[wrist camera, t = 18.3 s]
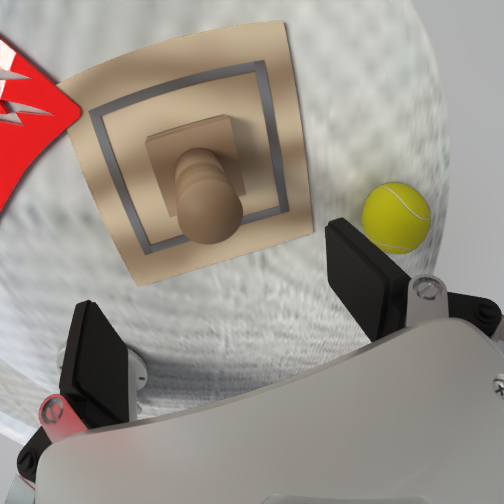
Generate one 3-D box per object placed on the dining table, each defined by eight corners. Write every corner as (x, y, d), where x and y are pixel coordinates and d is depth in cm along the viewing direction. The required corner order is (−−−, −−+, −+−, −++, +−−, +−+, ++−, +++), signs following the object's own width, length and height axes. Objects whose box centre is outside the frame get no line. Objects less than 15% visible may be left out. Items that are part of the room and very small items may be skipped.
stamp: (239, 183, 24) (278, 247, 16) (169, 204, 24) (172, 280, 16) (223, 114, 21) (259, 141, 13) (147, 136, 20) (130, 179, 12)
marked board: (311, 231, 29) (313, 233, 29) (137, 284, 28) (137, 287, 27) (281, 21, 18) (283, 20, 17) (55, 86, 16) (52, 86, 15)
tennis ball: (365, 164, 27) (411, 193, 21) (409, 181, 29) (452, 210, 23) (340, 226, 30) (376, 265, 24) (385, 234, 32) (421, 269, 27)
